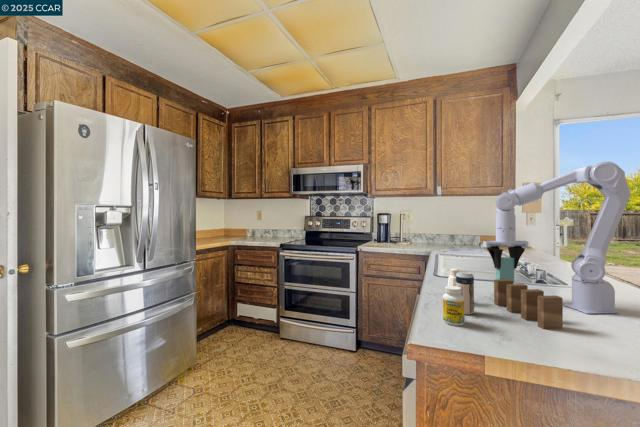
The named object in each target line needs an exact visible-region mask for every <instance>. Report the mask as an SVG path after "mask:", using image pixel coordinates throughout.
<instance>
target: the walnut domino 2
mask: <svg viewBox="0 0 640 427" xmlns="http://www.w3.org/2000/svg"><path fill="white" fill-rule="evenodd" d="M521 290H529V289H528V285H526V284H525V283H524V284H523V283H513V284H507V306H506V311H507V312H509V313H511V314H519V313H520V314H521Z"/></svg>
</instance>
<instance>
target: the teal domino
mask: <svg viewBox="0 0 640 427" xmlns="http://www.w3.org/2000/svg"><path fill="white" fill-rule="evenodd" d="M500 279H510V280H513V283H514V282H515V269H514V258H511V257H510V256H508V257H506V256H505V257H502V256H501V268H500V269H497V268H495V280H500Z"/></svg>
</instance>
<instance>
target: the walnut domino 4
mask: <svg viewBox="0 0 640 427" xmlns="http://www.w3.org/2000/svg"><path fill="white" fill-rule="evenodd" d="M563 300H564V299H563V297H561V296H558V295H555V294H554V295H544V296H538V320H537V327H539V328H540V329H542V330H563V324H564V323H563V321H564V320H563V318H564V317H563V315H564V314H563V308H564V307H563V305H564V304H563V303H564V302H563Z"/></svg>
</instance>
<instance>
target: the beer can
mask: <svg viewBox="0 0 640 427" xmlns="http://www.w3.org/2000/svg"><path fill="white" fill-rule="evenodd" d="M456 286H457V287H460V288H461V294H460V295H462V296H463V297H464V316H465V315H466V316H470V315H472V314H474V313H475V276H474V274H473V273H472V272H471V271H470V272H469V271H462V270H461V271H460V270H459V272H457V274H456Z"/></svg>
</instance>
